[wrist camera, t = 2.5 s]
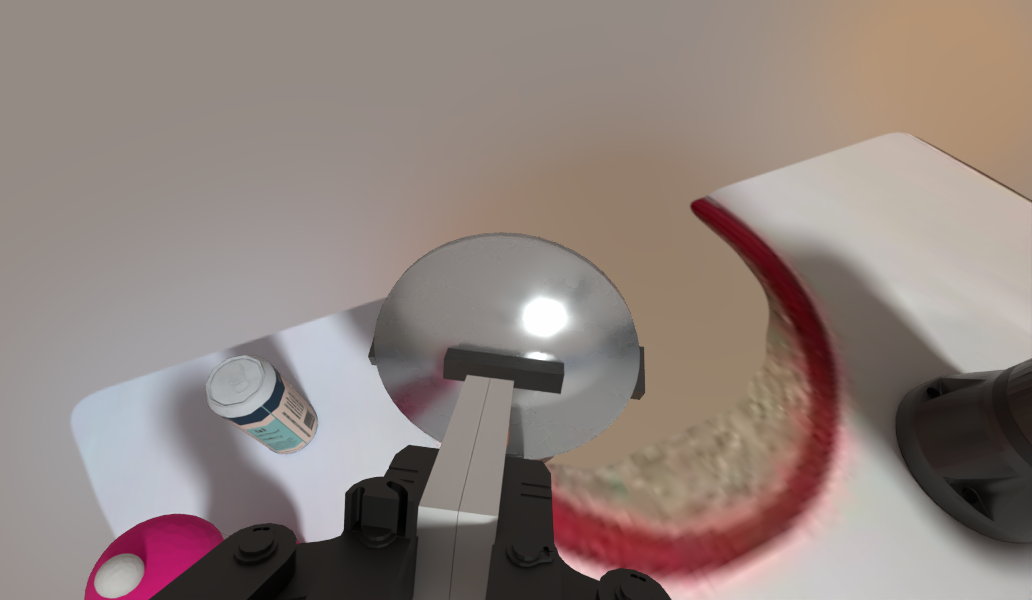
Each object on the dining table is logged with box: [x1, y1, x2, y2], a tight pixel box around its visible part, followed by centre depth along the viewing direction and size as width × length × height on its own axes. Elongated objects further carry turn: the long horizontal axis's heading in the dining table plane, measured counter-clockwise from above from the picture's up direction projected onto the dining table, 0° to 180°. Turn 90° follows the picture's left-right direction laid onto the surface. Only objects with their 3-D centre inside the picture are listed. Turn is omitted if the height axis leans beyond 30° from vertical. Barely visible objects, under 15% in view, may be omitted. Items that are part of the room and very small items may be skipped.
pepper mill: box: [84, 514, 300, 600], centre depth 30 cm, size 7×7×20 cm
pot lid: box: [374, 233, 640, 460], centre depth 29 cm, size 16×17×3 cm
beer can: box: [205, 355, 318, 454], centre depth 39 cm, size 5×5×12 cm
